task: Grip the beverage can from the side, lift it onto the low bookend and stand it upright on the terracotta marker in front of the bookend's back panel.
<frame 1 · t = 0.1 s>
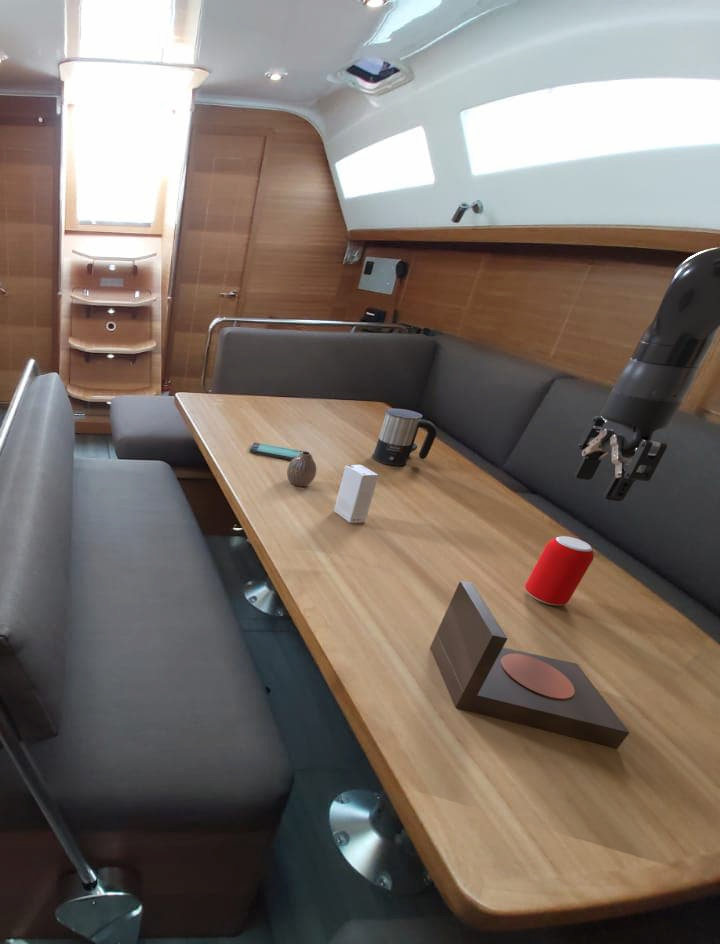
hand: (596, 488, 82), 22 cm above the table, tool pointing down, fingers open, 8 cm apart
milk frother: (392, 457, 152), on the table
cosmetic box: (347, 517, 116), on the table
bookend: (513, 692, 71), on the table
smartphone: (276, 454, 150), on the table
vase: (298, 484, 132), on the table
beverage can: (543, 598, 91), on the table
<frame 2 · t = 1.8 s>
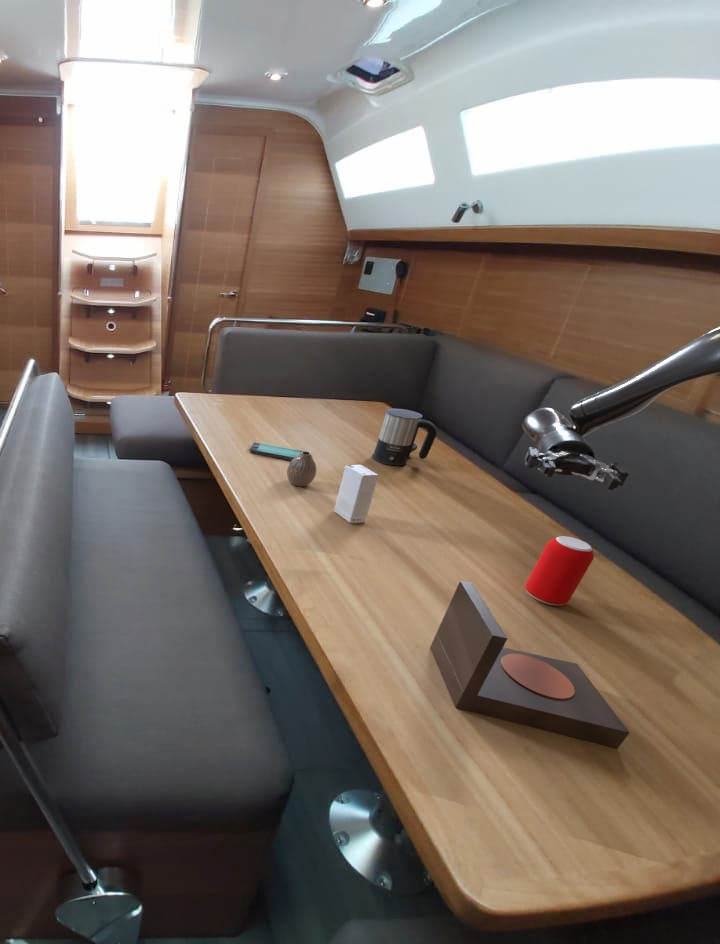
hand: (581, 478, 91), 20 cm above the table, tool horizontal, fingers open, 8 cm apart
nothing on the table moved.
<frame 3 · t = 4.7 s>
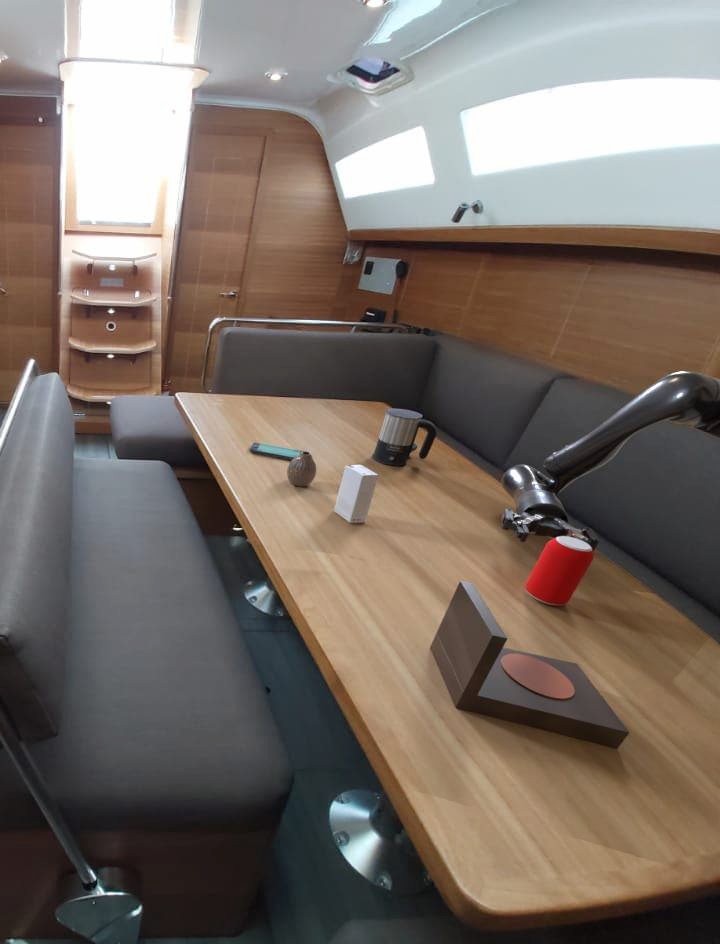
hand: (553, 545, 94), 7 cm above the table, tool horizontal, fingers open, 8 cm apart
nothing on the table moved.
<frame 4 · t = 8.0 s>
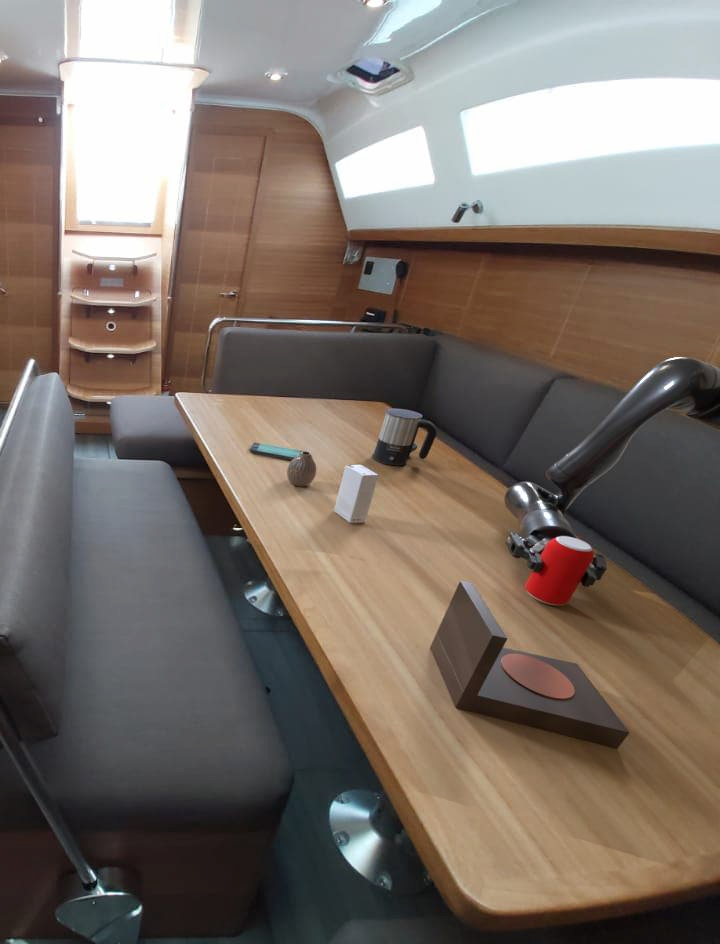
hand: (562, 575, 86), 7 cm above the table, tool horizontal, fingers closed on beverage can, 6 cm apart
beverage can: (543, 598, 91), on the table, touching gripper
everything else where it was.
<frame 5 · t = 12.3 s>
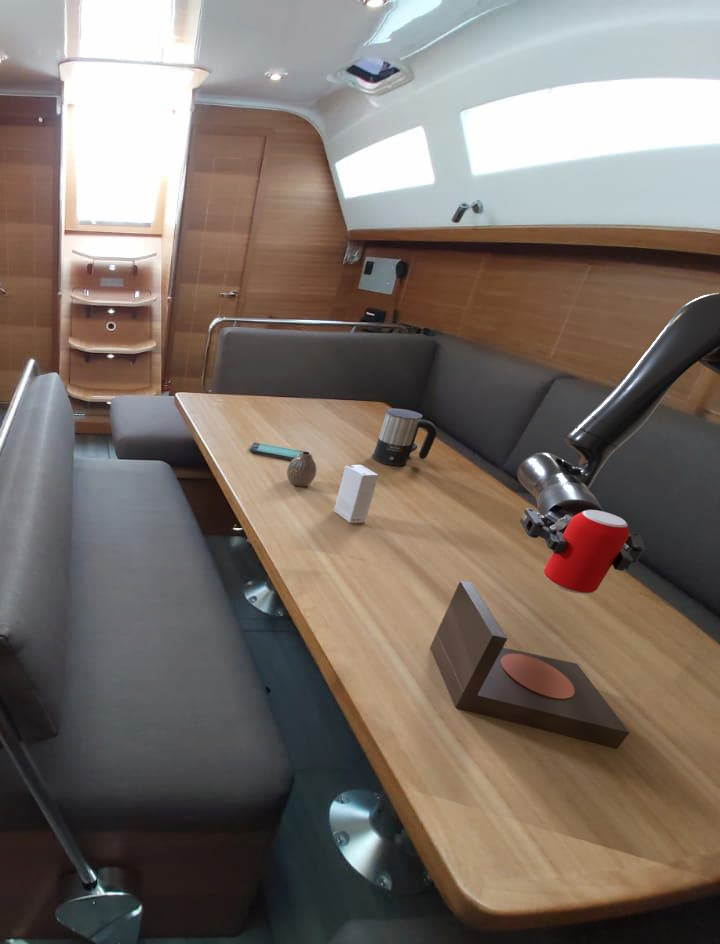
hand: (590, 556, 71), 18 cm above the table, tool horizontal, fingers closed on beverage can, 6 cm apart
beverage can: (565, 586, 76), point 11 cm above the table, touching gripper
everything else where it was.
when the fingers open (10 cm above the table, at t = 16.8 s): beverage can stays where it is, resting on bookend.
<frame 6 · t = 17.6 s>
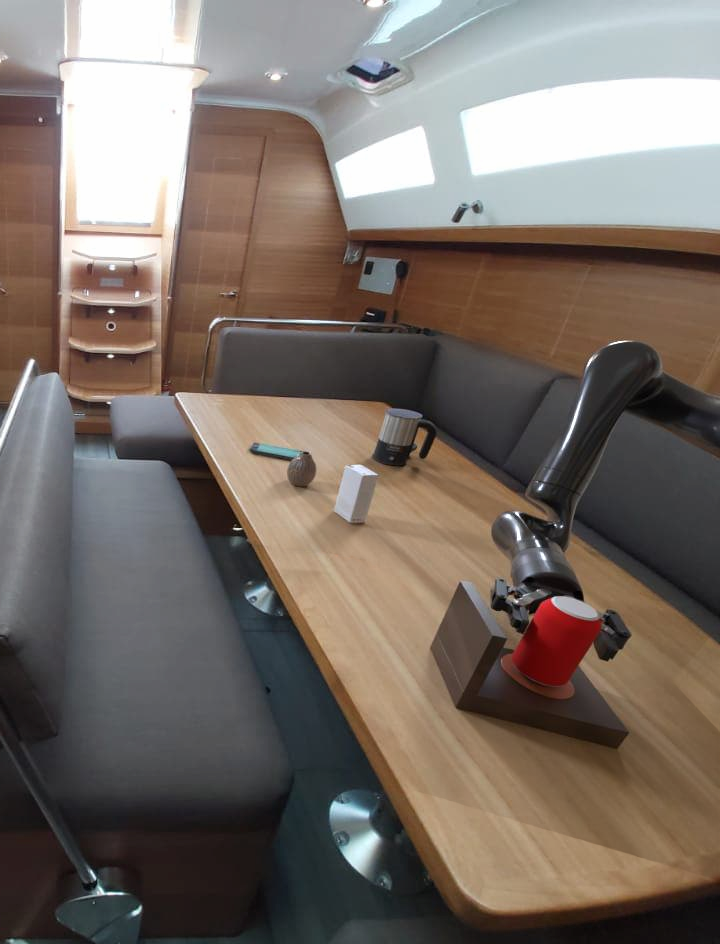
hand: (564, 641, 65), 11 cm above the table, tool horizontal, fingers open, 8 cm apart
beverage can: (535, 674, 70), point 3 cm above the table, touching bookend
everything else where it was.
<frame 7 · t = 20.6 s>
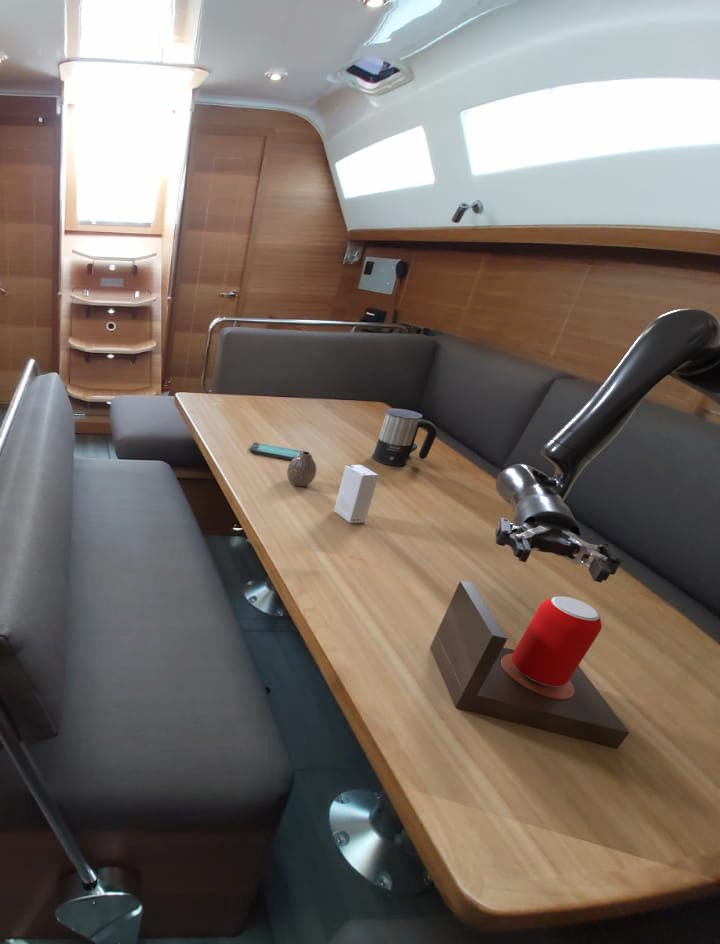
hand: (562, 566, 73), 15 cm above the table, tool horizontal, fingers open, 8 cm apart
nothing on the table moved.
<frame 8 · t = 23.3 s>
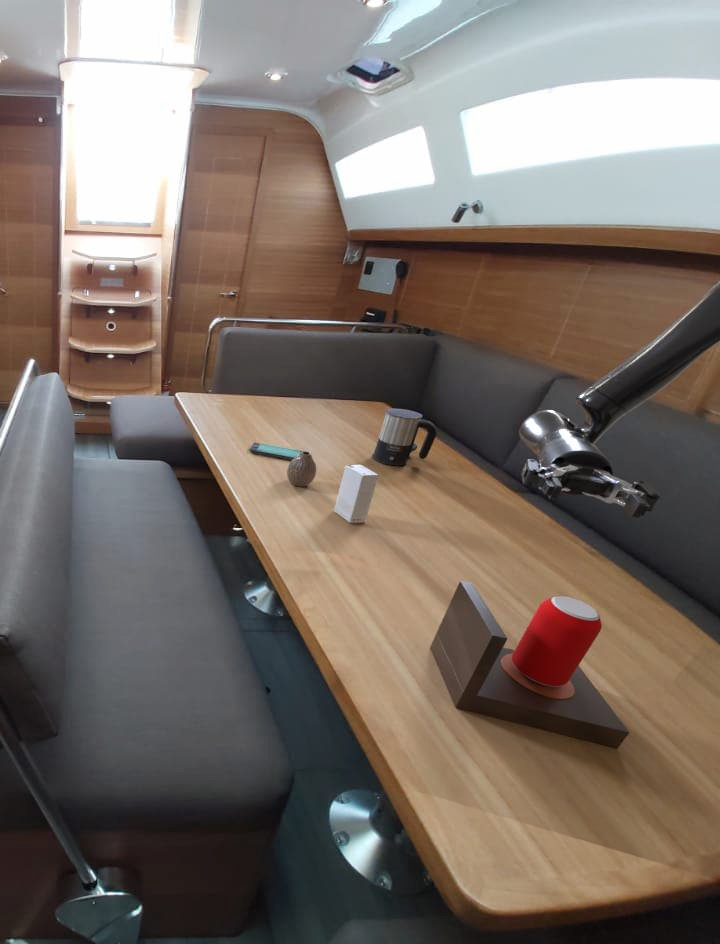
hand: (596, 502, 68), 26 cm above the table, tool horizontal, fingers open, 8 cm apart
nothing on the table moved.
at the end: beverage can inside the target area on the bookend (0.1 cm from its centre), point 3.0 cm above the bookend's base; beverage can tilted 0°; the gripper is holding nothing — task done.
